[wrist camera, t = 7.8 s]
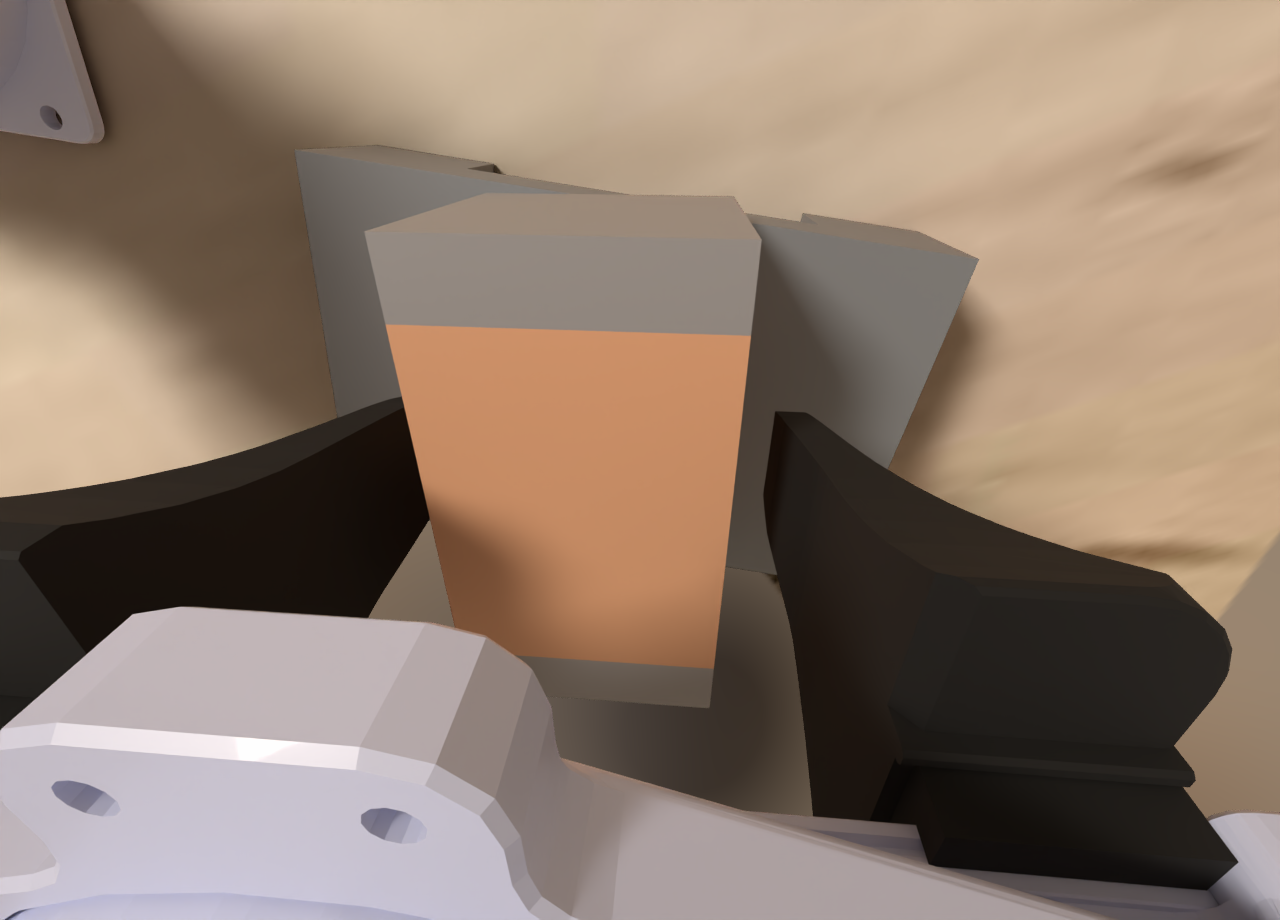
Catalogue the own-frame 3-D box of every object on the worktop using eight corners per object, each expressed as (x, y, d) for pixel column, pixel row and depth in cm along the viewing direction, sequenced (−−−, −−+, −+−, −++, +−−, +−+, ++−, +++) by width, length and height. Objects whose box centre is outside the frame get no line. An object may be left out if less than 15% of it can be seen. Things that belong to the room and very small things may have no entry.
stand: (405, 447, 19) (351, 508, 16) (377, 145, 14) (293, 149, 11) (814, 512, 19) (838, 584, 16) (918, 231, 14) (979, 259, 11)
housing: (703, 549, 16) (709, 708, 11) (528, 540, 16) (469, 690, 12) (734, 196, 11) (761, 239, 7) (486, 192, 11) (363, 230, 7)
